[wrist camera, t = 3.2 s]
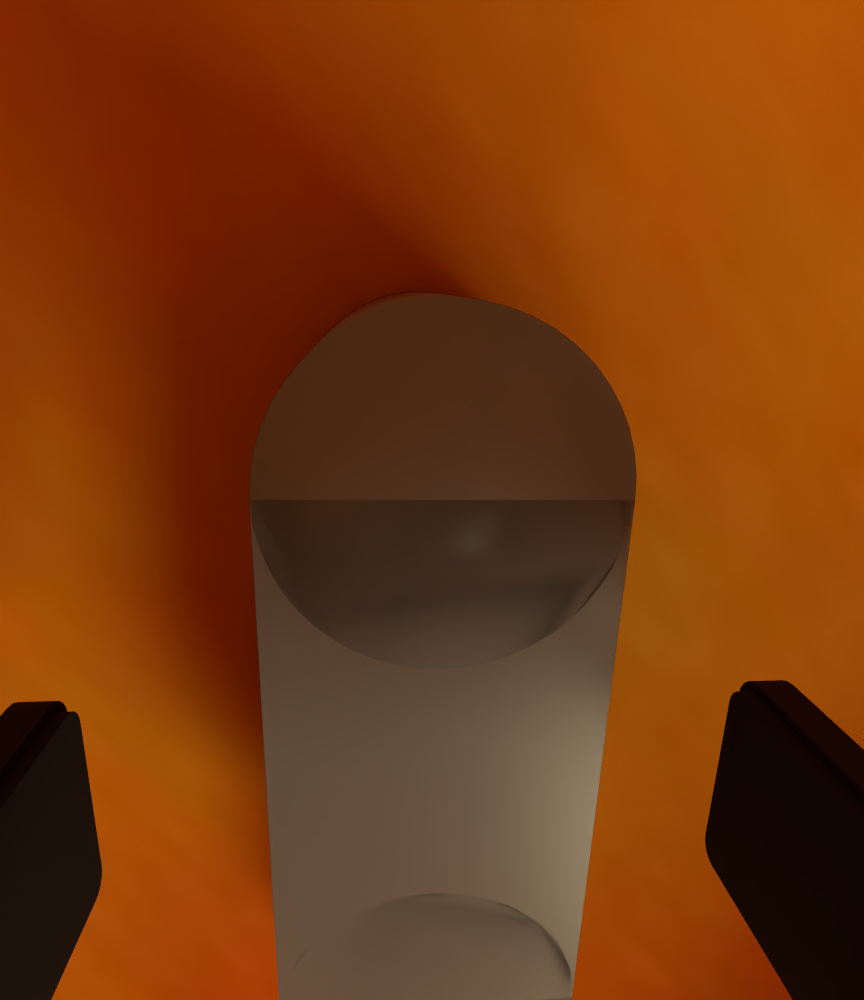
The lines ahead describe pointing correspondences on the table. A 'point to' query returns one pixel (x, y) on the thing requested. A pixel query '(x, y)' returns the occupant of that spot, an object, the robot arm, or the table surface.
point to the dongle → (436, 648)
